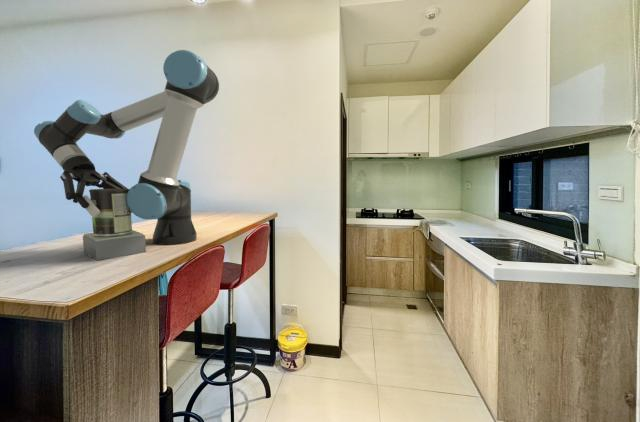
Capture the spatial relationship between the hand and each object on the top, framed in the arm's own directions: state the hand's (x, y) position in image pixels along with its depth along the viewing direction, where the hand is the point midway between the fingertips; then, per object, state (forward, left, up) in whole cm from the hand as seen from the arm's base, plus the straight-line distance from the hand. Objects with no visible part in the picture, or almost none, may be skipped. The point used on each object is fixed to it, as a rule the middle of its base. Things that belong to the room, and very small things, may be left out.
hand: (116, 212), depth 90 cm
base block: (+1, -1, -13) cm, 13 cm away
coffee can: (+1, -1, -7) cm, 7 cm away
